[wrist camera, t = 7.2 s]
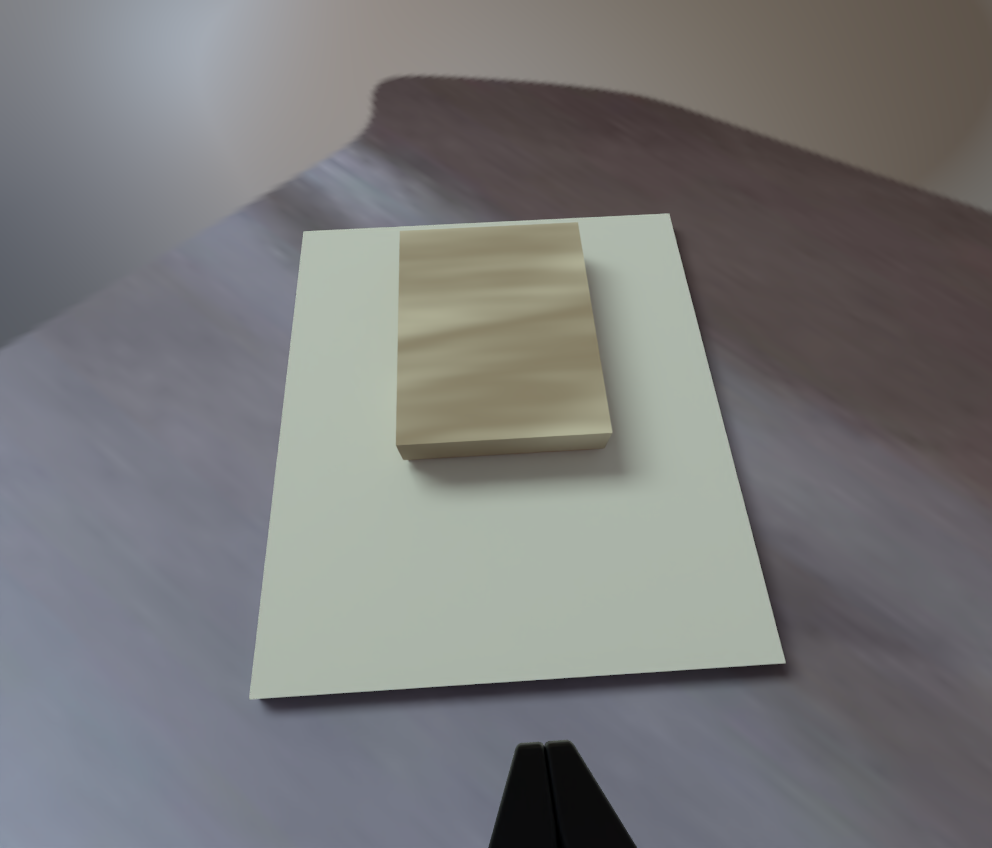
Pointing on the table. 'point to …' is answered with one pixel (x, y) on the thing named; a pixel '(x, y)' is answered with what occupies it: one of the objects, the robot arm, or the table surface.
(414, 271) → the tile
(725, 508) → the mat
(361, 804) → the table surface
